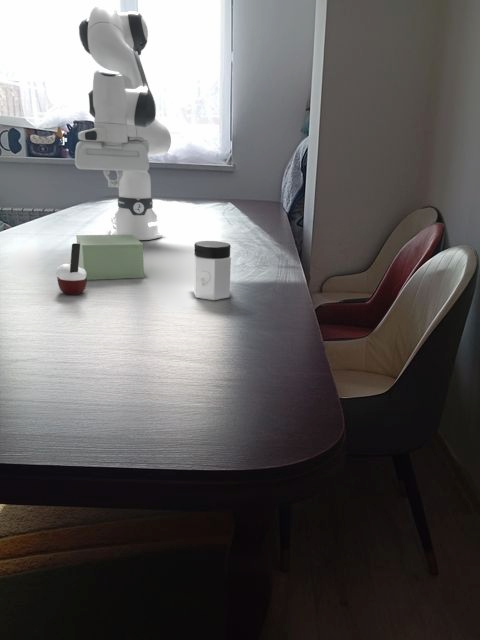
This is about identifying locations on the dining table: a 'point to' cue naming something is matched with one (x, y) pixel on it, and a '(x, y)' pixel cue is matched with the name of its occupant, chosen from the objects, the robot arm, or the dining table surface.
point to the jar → (212, 270)
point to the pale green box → (111, 256)
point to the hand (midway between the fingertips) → (113, 187)
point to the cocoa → (72, 274)
